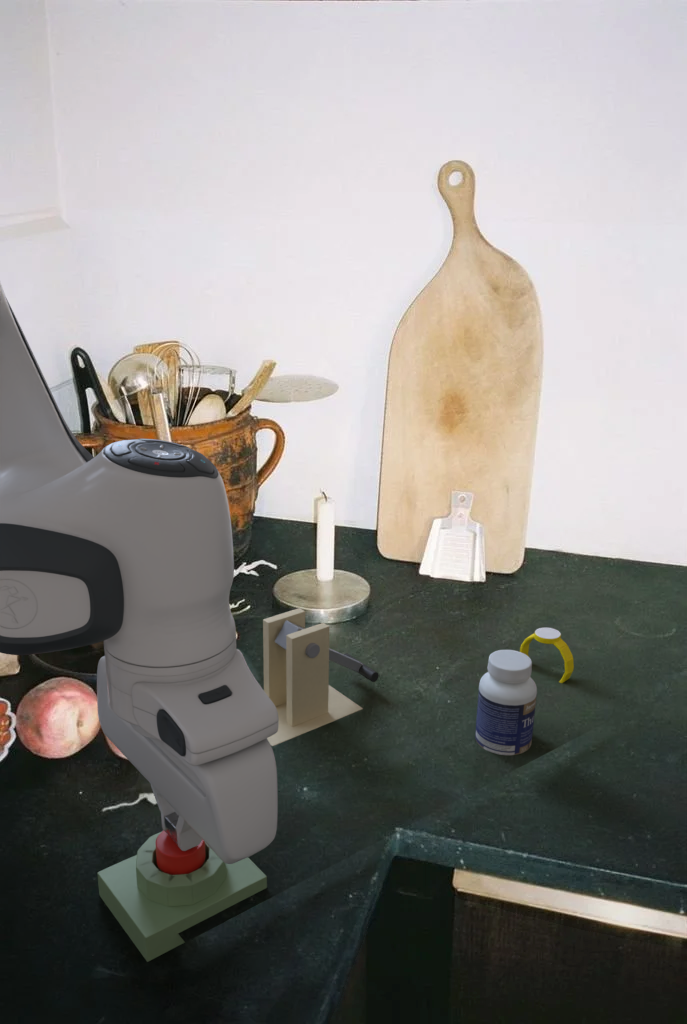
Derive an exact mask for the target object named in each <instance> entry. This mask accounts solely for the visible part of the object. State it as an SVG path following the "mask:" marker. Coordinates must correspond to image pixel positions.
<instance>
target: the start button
mask: <svg viewBox="0 0 687 1024" xmlns="http://www.w3.org/2000/svg"><path fill="white" fill-rule="evenodd" d="M160 832H161V833H160ZM160 832H159V833H160V834H159V835H158V837H157V839H156V859H157V865H158V867H159V869H160V870H161V871H163V872H164V873H167V874H170V875H181V874H189V873H191V872H193V871H196V870H198V869H199V868H200V867H201V866H202V865H203V863H204V861H205V857H206V854H205V841H204V840H203V839H202V841H201V843H200V844H199V845H198V846H195V847H193V848H191V849H189V850H187V851H182V850H181V849H180V848H179V847H178V845H177V844H176V843H175V842H174V841H173V840H172V838H171V837H170V836H169V835H168V834H167V833H166V832H165V831H164V830H163V829H162V831H160Z"/></svg>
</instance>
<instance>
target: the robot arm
mask: <svg viewBox="0 0 687 1024" xmlns="http://www.w3.org/2000/svg"><path fill="white" fill-rule="evenodd" d="M233 542H234V541H233V529H232V520H231V510H230V504H229V499H228V494H227V490H226V486H225V483H224V480H223V477H222V476H221V473H220V472H219V470H218V468H217V467H216V465H215V464H214V463H213V462H212V461H211V460H210V459H209V458H208V457H206V455H204V454H203V453H201V452H199V451H197V450H194V449H193V448H190V447H189V446H187V445H183V444H181V443H178V442H177V443H176V442H174V441H168V440H163V439H155V438H154V439H153V438H137V439H123V440H119V441H118V440H117V441H115V442H111V443H109V444H108V445H106V446H105V447H103V448H102V449H101V450H100V452H99V453H98V454H96V456H93V454H91V453H90V452H89V450H87V449H86V448H85V446H83V444H82V443H81V442H80V441H79V440H78V438H77V437H76V436H75V435H74V433H73V432H72V431H71V429H70V427H69V425H68V424H67V422H66V420H65V418H64V416H63V414H62V412H61V410H60V407H59V406H58V403H57V402H56V399H55V397H54V394H53V393H52V391H51V388H50V386H49V385H48V382H47V380H46V378H45V376H44V373H43V371H42V370H41V367H40V365H39V363H38V361H37V359H36V357H35V354H34V352H33V351H32V348H31V346H30V344H29V342H28V340H27V337H26V335H25V334H24V331H23V329H22V326H21V325H20V323H19V321H18V318H17V317H16V315H15V312H14V310H13V309H12V307H11V304H10V303H9V301H8V299H7V297H6V293H5V292H4V288H3V285H2V282H1V281H0V654H3V655H11V656H31V655H32V656H33V655H41V654H47V653H54V652H60V651H66V650H71V649H72V650H73V649H77V648H82V647H83V648H84V647H87V646H92V645H95V644H99V643H101V642H103V651H104V652H103V653H104V655H103V656H101V657H100V659H99V660H98V663H97V669H96V701H97V702H96V703H97V704H96V705H97V717H98V721H99V725H100V728H101V730H102V732H103V734H104V736H105V737H106V738H107V739H108V740H109V742H111V743H112V744H113V745H114V746H115V748H116V749H118V750H119V752H120V753H121V754H122V755H123V756H124V757H125V758H126V759H127V760H128V761H129V763H131V764H132V766H133V767H134V768H135V769H136V770H137V771H138V772H139V773H140V774H141V775H142V776H143V777H144V779H145V780H147V781H148V783H149V784H150V788H151V791H152V793H153V796H154V799H155V801H156V804H157V807H158V810H159V812H160V817H161V818H160V819H161V829H162V831H163V830H164V831H165V832H166V833H167V834H168V835H169V836H170V837H171V838H172V840H173V841H174V842H175V843H176V844H177V845H178V847H179V848H180V849H181V850H182V851H187V850H189V849H191V848H193V847H195V846H198V845H199V844H200V843H201V841H202V839H203V840H204V841H205V843H206V844H207V845H208V846H209V847H210V848H211V849H212V850H213V851H214V852H215V853H216V854H217V855H218V857H219V858H220V859H221V860H222V861H223V862H224V863H226V864H233V863H236V862H238V861H241V860H243V859H245V858H247V857H248V858H250V857H252V856H253V855H256V854H258V853H259V852H261V851H262V850H264V849H266V848H268V846H270V844H271V843H272V842H273V841H274V840H275V838H276V836H277V830H278V818H279V817H278V815H279V813H278V812H279V796H278V795H279V794H278V792H279V791H278V789H279V788H278V787H279V786H278V770H277V769H278V768H277V767H278V766H277V762H276V757H275V753H274V750H273V749H274V748H273V746H272V745H270V743H269V741H268V739H267V738H268V737H270V736H272V735H274V734H275V733H277V731H278V725H279V719H278V712H277V709H276V707H275V705H274V703H273V702H272V701H271V699H270V698H269V697H268V695H267V694H266V693H265V692H264V688H263V687H262V686H261V684H260V683H259V682H258V681H257V679H256V678H255V676H254V674H253V673H252V671H251V668H250V667H249V664H248V663H247V661H246V659H245V657H244V654H243V653H242V651H241V650H240V649H239V648H237V629H236V622H235V619H234V615H233V613H232V610H231V605H230V595H231V594H230V593H231V589H232V585H233V582H234V577H235V558H234V557H235V556H234V543H233Z"/></svg>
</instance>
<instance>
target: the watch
mask: <svg viewBox="0 0 687 1024" xmlns="http://www.w3.org/2000/svg"><path fill="white" fill-rule="evenodd" d="M533 640H535V641H536V642H538V643H540V644H544V645H553V646H554V647H555V648H556V649H557V650H558V651H559V653H560V656H561V657H562V659H563V662H564V663H563V664H564V672H563V674H562V676H561V678H560V680H559V681H558V683H560V684H563V683H565V682H566V681H568V680H569V679H571V676H572V674H573V672H574V668H575V666H574V665H575V664H574V663H575V662H574V655H573V653H572V651H571V649H570V647H569V645H568V644H567V643H566V642H565V640H563V638H562V633H561V631H559V630H558V629H556V628H553V627H539V628H536V629H535V630H534V632H533V633H532V634H530V635H529V636H527V637H526V638H524V640H523V642H522V643H521V644H520V647H519V652H521V653H524V654H526V655H527V656H528V657H529V658H530V655H529V651H530V644H531V643H532V641H533Z"/></svg>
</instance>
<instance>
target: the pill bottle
mask: <svg viewBox="0 0 687 1024" xmlns="http://www.w3.org/2000/svg"><path fill="white" fill-rule="evenodd" d="M532 667H533V661H532V659H531V657H530V656H529V657H528V656H527V655H526V654H524V653H521V652H520V651H518V650H514V649H499V650H494V651H493V652H491V653H490V654H489V656H488V661H487V671H486V672H485V673H484V674H483V675H482V676H481V678H480V680H479V683H478V692H477V693H478V695H477V706H476V707H477V708H476V719H475V733H474V738H475V741H476V743H477V744H478V745H479V747H481V748H482V749H483V750H485V751H487V752H490V753H492V754H495V755H500V756H516V755H520V754H521V755H522V754H523V753H525V752H527V751H529V749H530V748H531V746H532V743H533V742H532V741H533V733H534V725H535V715H536V704H537V695H538V688H537V684H536V682H535V681H534V679H533V677H531V676H532Z"/></svg>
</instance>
